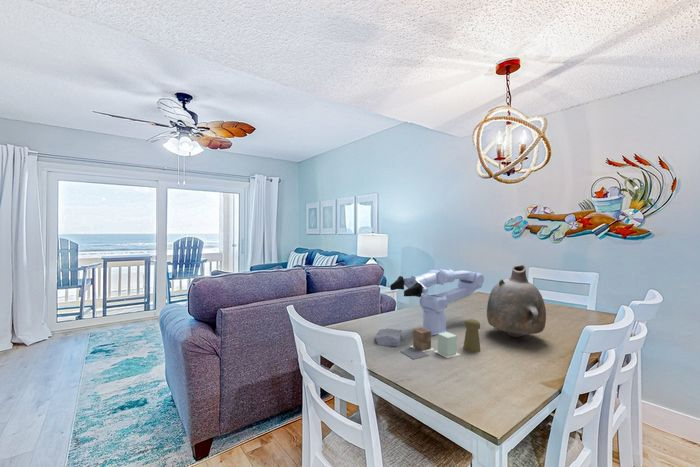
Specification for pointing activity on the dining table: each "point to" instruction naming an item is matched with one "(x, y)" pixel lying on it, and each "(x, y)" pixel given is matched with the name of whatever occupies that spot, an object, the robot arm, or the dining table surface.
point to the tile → (446, 356)
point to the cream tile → (424, 350)
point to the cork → (472, 336)
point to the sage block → (447, 343)
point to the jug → (516, 305)
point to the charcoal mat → (414, 353)
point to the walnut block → (422, 339)
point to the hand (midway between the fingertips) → (397, 290)
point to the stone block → (388, 337)
